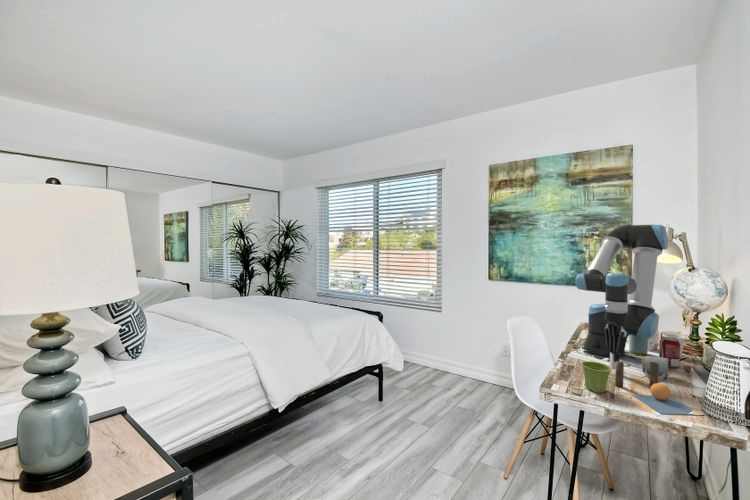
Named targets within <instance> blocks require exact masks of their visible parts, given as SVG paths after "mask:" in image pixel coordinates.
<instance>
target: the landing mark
mask: <svg viewBox="0 0 750 500" xmlns="http://www.w3.org/2000/svg"><path fill="white" fill-rule="evenodd" d="M632 397H634V398H636V399H637V400H639V401H640V402H642V403H644V404H645V405H647V406H648V407H650V408H651V409H653V410H654V411H655V412H657V413H659V414H660V415H673V416H674V415H675V416H677V415H676V414H685V415H684V416H691V415H690V414H689V413H690V412H692V410H693V411H694V409H695V408H693V407H691V406H689V404H687V403H684V402H682V401H681V400H678V399H677V398H675V397H674V396H672V395H671V397H670V398H669V399H668V400H664V401H663V400H658V399H656V398H655V397H654V396H653V395H652V394H649V395H648V394H632ZM687 414H689V415H687Z"/></svg>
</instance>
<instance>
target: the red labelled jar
mask: <svg viewBox="0 0 750 500" xmlns="http://www.w3.org/2000/svg"><path fill="white" fill-rule="evenodd" d="M658 352H659V353H658V357H660V358H667V359H668V368H677V367H680V362H681V361H680V360H681V359H680V343H679V342H678V339H677V338H673V337H663V336H661V339H660V340H659V351H658Z"/></svg>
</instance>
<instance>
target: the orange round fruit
mask: <svg viewBox="0 0 750 500" xmlns="http://www.w3.org/2000/svg"><path fill="white" fill-rule="evenodd" d="M649 391H650V395H653V396H654V397H655V398H656V399H658V400H663V401H664V400H668V399H669V398H670V397H671V396H672V391H671V389H670V388H669V386H667V385H666V384H663V383H660V382H658V383H655V384H653V385H652V386H651V387H650V388H649Z"/></svg>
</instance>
